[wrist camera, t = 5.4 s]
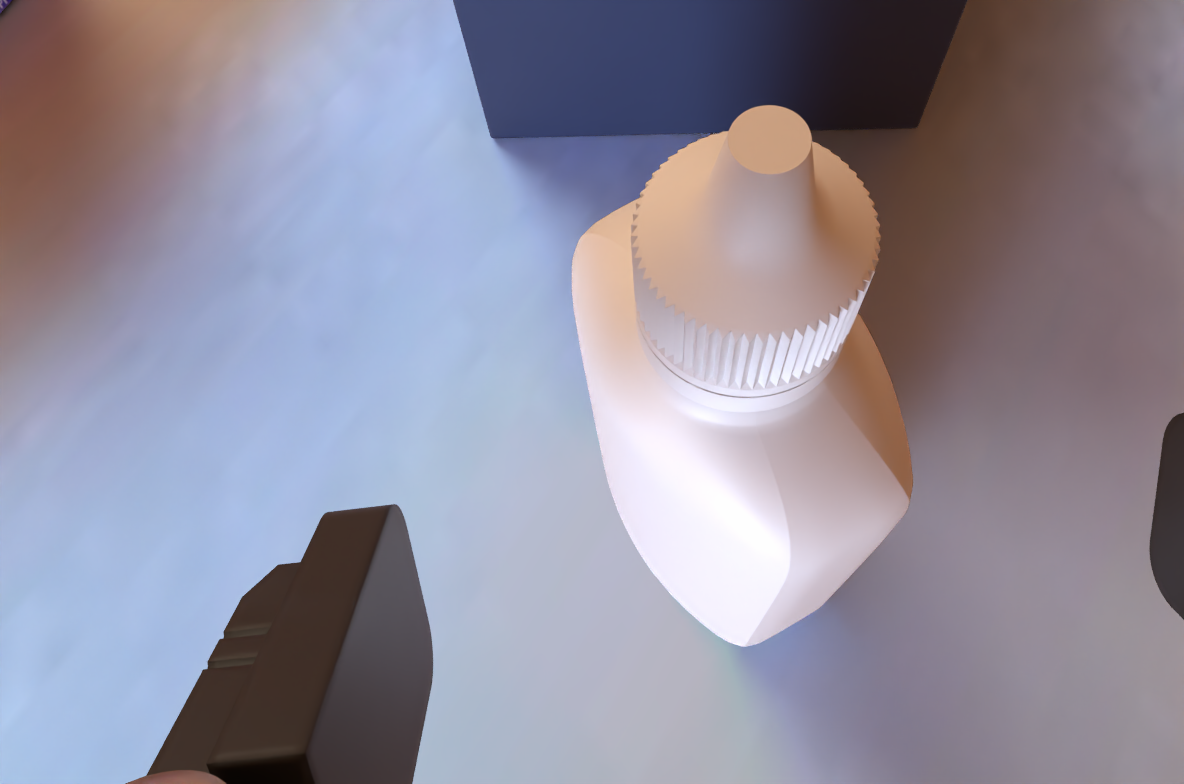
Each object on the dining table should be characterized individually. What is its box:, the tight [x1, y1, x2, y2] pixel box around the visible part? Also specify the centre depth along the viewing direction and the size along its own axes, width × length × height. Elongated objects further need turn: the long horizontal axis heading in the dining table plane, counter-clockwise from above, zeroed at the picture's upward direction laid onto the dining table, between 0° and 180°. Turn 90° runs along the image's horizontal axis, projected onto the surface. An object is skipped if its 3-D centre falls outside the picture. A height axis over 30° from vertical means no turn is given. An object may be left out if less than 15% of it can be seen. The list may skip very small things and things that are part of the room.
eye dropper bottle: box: [572, 105, 913, 647], centre depth 13 cm, size 4×6×12 cm
